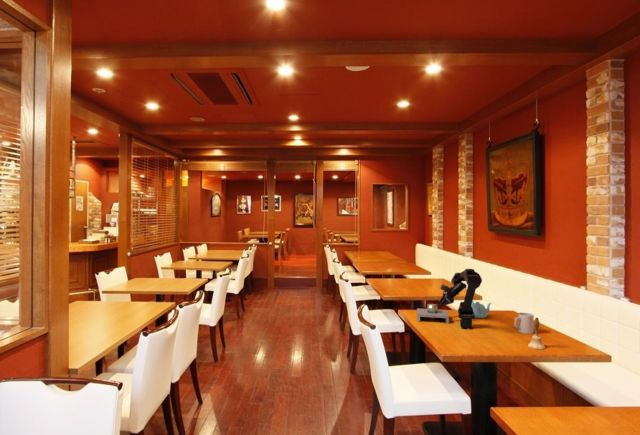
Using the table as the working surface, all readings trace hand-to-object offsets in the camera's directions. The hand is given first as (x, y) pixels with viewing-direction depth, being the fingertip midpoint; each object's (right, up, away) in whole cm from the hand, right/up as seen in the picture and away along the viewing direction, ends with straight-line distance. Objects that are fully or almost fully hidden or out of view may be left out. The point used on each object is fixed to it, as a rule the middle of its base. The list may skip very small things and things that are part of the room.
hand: (439, 304), depth 259 cm
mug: (+44, -11, -25) cm, 52 cm away
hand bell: (+37, -12, -52) cm, 65 cm away
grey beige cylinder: (-4, -10, +1) cm, 11 cm away
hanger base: (-4, -11, +2) cm, 12 cm away
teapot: (+30, -11, +11) cm, 34 cm away
